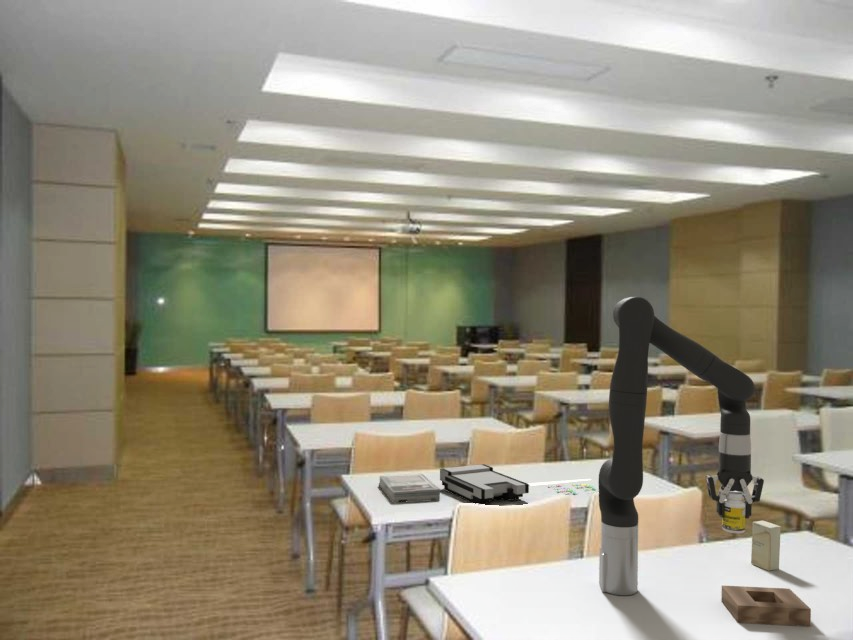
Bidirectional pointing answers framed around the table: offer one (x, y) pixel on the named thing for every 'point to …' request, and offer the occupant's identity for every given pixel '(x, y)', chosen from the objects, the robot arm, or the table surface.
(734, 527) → the supplement bottle
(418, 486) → the hard drive
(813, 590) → the table surface
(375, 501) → the table surface
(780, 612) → the walnut socket board
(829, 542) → the table surface
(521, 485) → the game console
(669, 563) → the table surface
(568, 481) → the printed paper
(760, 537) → the skincare box
